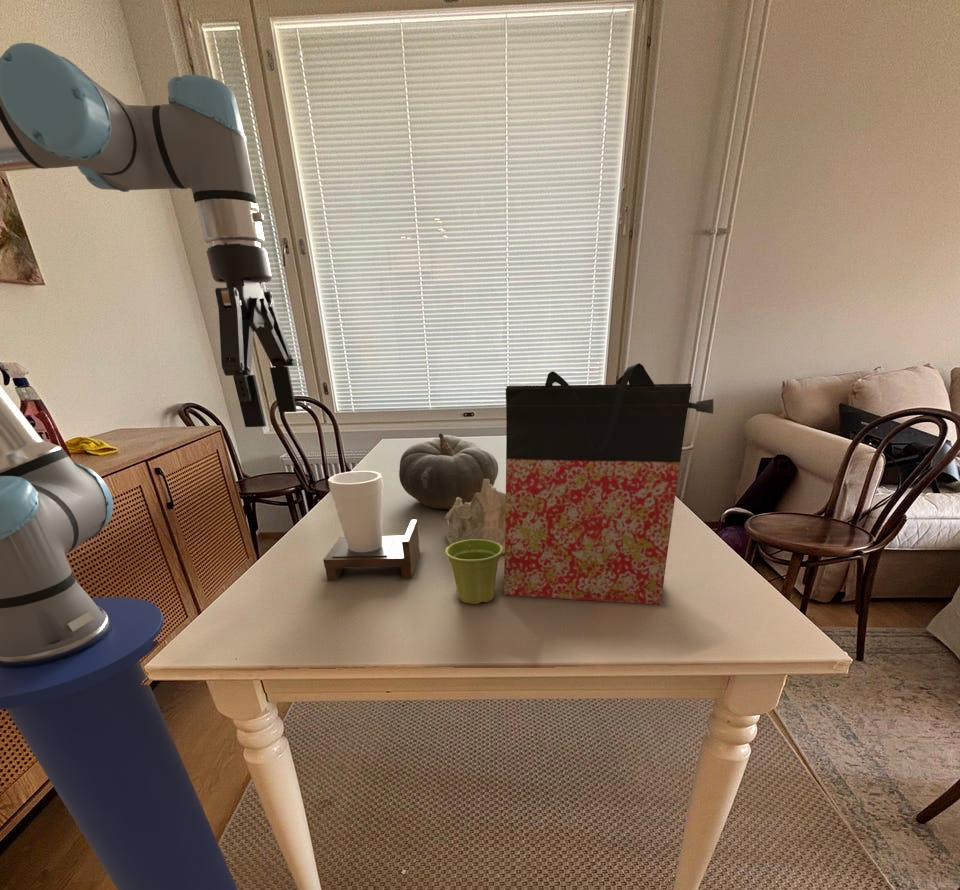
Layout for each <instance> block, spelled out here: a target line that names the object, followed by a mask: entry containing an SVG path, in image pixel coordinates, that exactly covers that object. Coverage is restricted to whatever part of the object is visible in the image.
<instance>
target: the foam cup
mask: <svg viewBox="0 0 960 890" xmlns="http://www.w3.org/2000/svg"><path fill="white" fill-rule="evenodd" d="M327 482H328V487H329V493H330V494H331V496H332V500H333V502H334V506H335V509H336V512H337V516H338V519H339V522H340V526H341V529H342V532H343V536H344V537H345V538H346V542H347V545H348V547H349V549H350V550H351V551H354V552H369V551H373V550H377V549H379V548H380V547H381V546H382V536H383V490H384V482H383V474H382V473H380V472H378V471H372V470H352V471H345V472H339V473H336V474H334V475H331V476H329V478H328V479H327Z"/></svg>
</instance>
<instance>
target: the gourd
mask: <svg viewBox="0 0 960 890" xmlns="http://www.w3.org/2000/svg"><path fill="white" fill-rule="evenodd" d="M399 461H400V462H399V471H398V477H399V478H398V479H399V482H400V484H401V486H402V488H403V489H404V491H405V492H406V493H407V494H408V495H409V496H410V497H412V498H414V499H415V500H416V501H417V502H418V503H419V504H422V505H424V506H426V507H429V508H432V509H437V510H450V509H451V508H452V506H453V505H454V503H455V502H456V498H457V497H459V498H461V499H462V503H463V505H464V503H465V502H467V503H470V502H472V500H473V497H474V495H475V493H479V492H481V489H482V485H483V480H484V479H489V480H490V484H492V486H493V487H494V485H495V482H496V480H497V477H498V474H499V464H498V461H497V459H496V458H495V456H494V455H493V454H492V453H490V452H489V451H488V450H486V449H484V448H483V447H482V446H480V445H478V444H477V443H475V442H473V441H471V440H469V439H462V438H460V437H458V436H455V435H450V434H445V435H443V433H442V432H439V433H438V438H434V439H431V440H428V441H423V442H417V443H415V444H412V445H411V446H409V447H408V448H407V449H405V451H404V452H403V454H402V455H401V457H400V460H399Z"/></svg>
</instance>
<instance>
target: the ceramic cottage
mask: <svg viewBox="0 0 960 890" xmlns="http://www.w3.org/2000/svg"><path fill="white" fill-rule="evenodd" d="M505 518H506V492H501V491H499V490H497V487H494V485H493V486H492V484H490V480H489V479H484V480H483V485H482V489H481V492H479V493H475V495H474V497H473V500H472V502H470V503H467V502H465V503H464V505H463V503H462V499H461V498H459V497H457V498H456V502H455V503H454V505H453V506H452V508H451V509H448V512H447V513H446V515H445V520H447V525H448V533H447V537H446V540H447V542H448V544H449V545H451V544H453V543H456V542H459V541H464V540H471V539H483V540H490V541H494V542H496V543H499V544H500V545H501V546H502V548H503V551H502V553H501V555H505Z"/></svg>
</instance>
